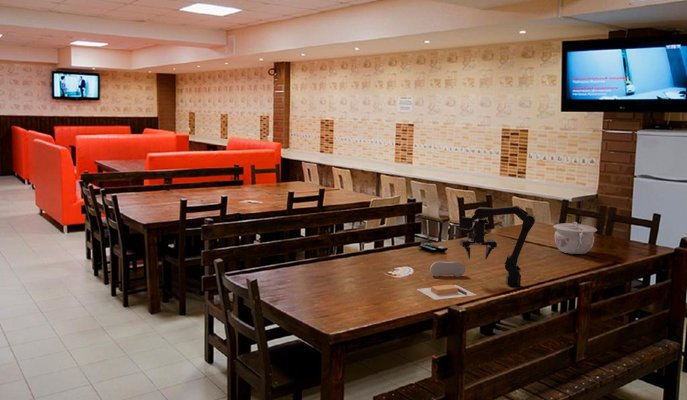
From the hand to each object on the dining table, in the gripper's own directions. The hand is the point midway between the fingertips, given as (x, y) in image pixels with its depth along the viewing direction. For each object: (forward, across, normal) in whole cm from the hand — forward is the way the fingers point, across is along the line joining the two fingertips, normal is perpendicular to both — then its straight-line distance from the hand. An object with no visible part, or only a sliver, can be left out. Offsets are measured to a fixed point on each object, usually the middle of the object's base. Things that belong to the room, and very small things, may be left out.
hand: (477, 259), depth 326 cm
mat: (+12, +22, +22) cm, 33 cm away
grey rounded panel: (+12, +14, -8) cm, 20 cm away
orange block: (+10, +17, +21) cm, 29 cm away
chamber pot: (+12, -84, -69) cm, 109 cm away
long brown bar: (+12, +15, +20) cm, 28 cm away
